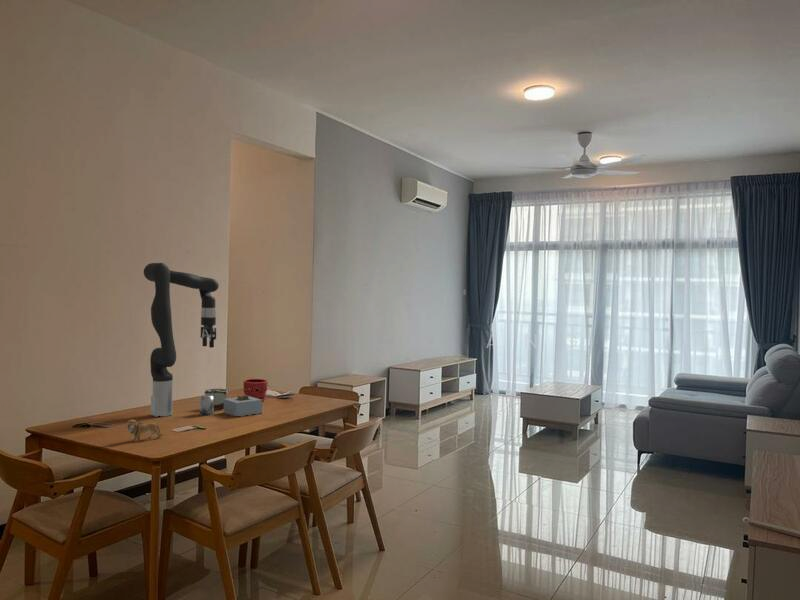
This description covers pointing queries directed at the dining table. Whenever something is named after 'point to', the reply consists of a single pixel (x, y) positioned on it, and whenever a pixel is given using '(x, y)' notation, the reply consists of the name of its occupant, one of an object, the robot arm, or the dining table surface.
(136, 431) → the lion figurine
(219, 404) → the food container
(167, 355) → the robot arm
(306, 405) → the dining table surface
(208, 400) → the round peg
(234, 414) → the socket block
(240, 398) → the square peg
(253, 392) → the plant pot
